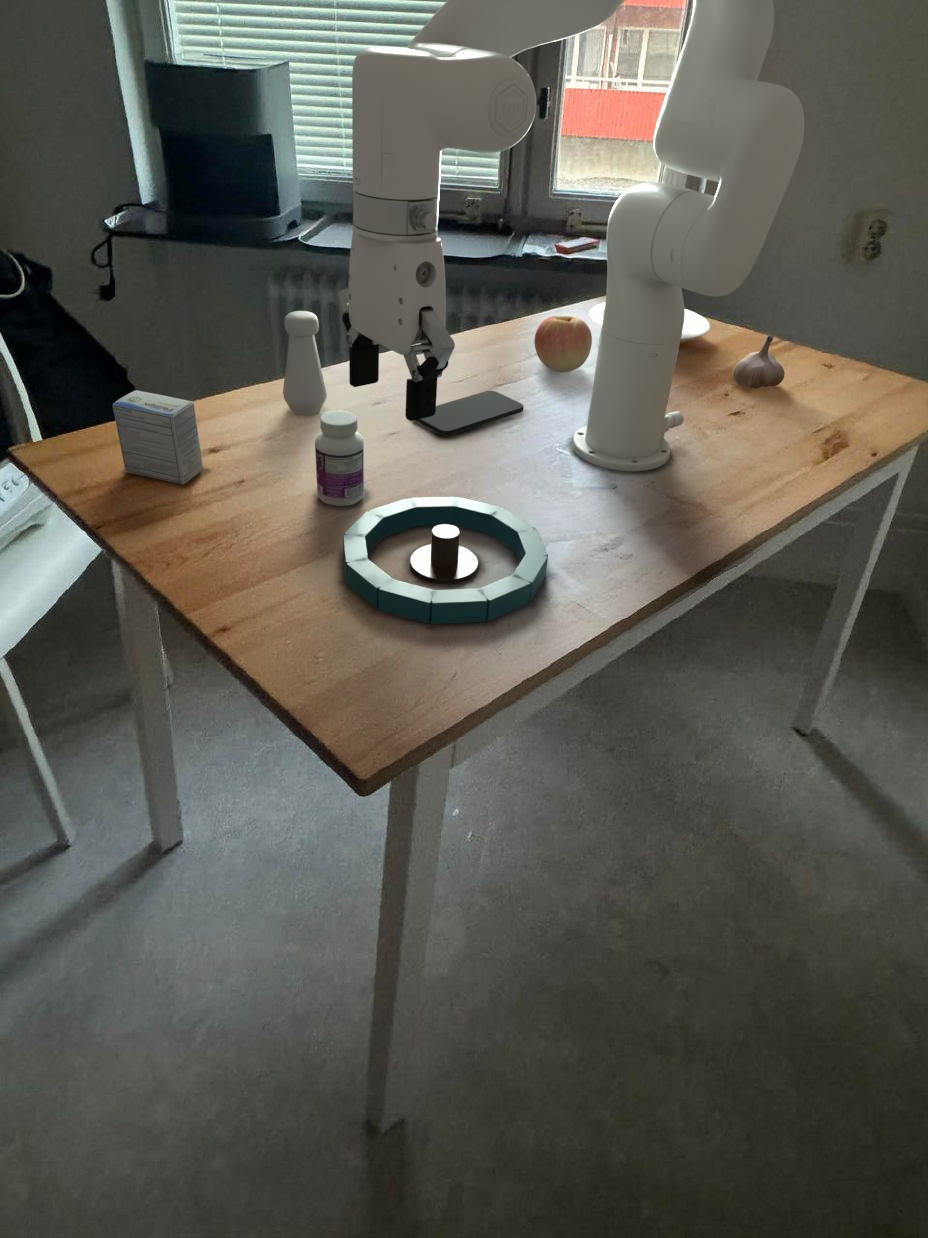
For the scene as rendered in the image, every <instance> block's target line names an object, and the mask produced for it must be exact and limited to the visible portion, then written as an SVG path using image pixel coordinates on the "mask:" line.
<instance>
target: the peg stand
mask: <svg viewBox="0 0 928 1238" xmlns="http://www.w3.org/2000/svg"><path fill="white" fill-rule="evenodd" d="M460 535H461V531H460V529H459V528H458V526H455V525H448V524H442V525H437V526H433V528H432V529H431V541H430V542H431V543H430V544H425V545H423V546H420V547H419V548H417V549H415V550H414V551H413V552H412V553H411V555H410V558H409V567H410V569H411V571H412V572H413V574H415V575H416V576H417V577H419V578H421V579H422V580H424V581H427V582H429V583H435V584H442V585H450V584H457V583H458V584H459V583H462V582H465V581H467V580H469V579H471V578H473V577H474V576H475V575H476V574H477V572H478V569H479V559H478V557H477V555H476V554H475V553H474V552H473V551H471V550H470V549H469V548H467V547H464V546H461V545H460V538H461V537H460Z"/></svg>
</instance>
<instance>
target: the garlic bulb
mask: <svg viewBox="0 0 928 1238" xmlns="http://www.w3.org/2000/svg"><path fill="white" fill-rule="evenodd" d="M773 340H774V336H773V334H768V335H767V337H766V339H765V341H764V343H763V345H762V347H761V348H760V351H753V352H750V353H748V354H747V355H746V356H745V357H744V358H742V359H741V360H739V361H737V362H736V364H735V365H734V366H733V371H732V378H733V381H734V382H736V384H737V385H739V386H742V387H745V388H747V389H750V390H752V389H754V390H757V389H760V388H770V387H777V386H778V385H780V384H781V383H782V382H783V380H784V378H785V369H784V367H783V366H782V365H781V363H779V362H778V360H777V359H776V357H775V356H774V355H773V354H771V353H769V349H770V345H771V343H772V342H773Z"/></svg>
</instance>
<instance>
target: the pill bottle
mask: <svg viewBox="0 0 928 1238" xmlns="http://www.w3.org/2000/svg"><path fill="white" fill-rule="evenodd" d="M319 425H320V426H319V428H320V430H321V431H320V432H318V434H316V437H315V439H314V452H315V473H316V475H315V476H316V491H317V496H318V498H319V499H320V500H321V502H323V503H324V504H326V505H329V506H335V507H348V506H349V507H350V506H352V505H355V504H357V503H358V502H360V501H361V500H362V499H363V498H364V496H365V442H364V438H363V436H362V434H361V433H360V432H359V431H358V428H359V427H358V426H359V425H358V416H357V415H356V413H353V412H352V411H347V410H342V409H341V410H340V409H337V410H329V411H327V412H324V413H322V414H321V415H320V417H319Z"/></svg>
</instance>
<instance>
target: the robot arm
mask: <svg viewBox="0 0 928 1238" xmlns="http://www.w3.org/2000/svg"><path fill="white" fill-rule="evenodd" d="M625 1H626V0H446V2H445V3H443V4H442V6H440V8H439V9H438V10H437V11H436V12H435V13H434V14H433V16H431V18H430V19H429V20H428V21H426V23H425V25H424V26H423V27H422V28H421V29H420V30H419V31H418V32H417V33H416V34H415V36H414V37H413V38H412V40H411V41H410V42H409V43H408V45H407V46H406V48H401V47H400V48H399V47H388V46H387V47H385V46H376V47H374V46H373V47H366V48H364V49H362V50H360V51H358V53H357V55H356V56H355V57H354V61H353V63H352V77H351V78H352V80H351V89H352V90H351V92H352V93H351V95H352V97H351V100H352V103H351V105H352V107H351V109H352V110H351V111H352V114H351V116H352V117H351V118H352V126H351V127H352V138H351V139H352V235H351V242H350V253H349V265H348V287H346V288H344V289H342V290H340V291H339V292H338V300H339V304H340V308H341V311H342V317H341V318H342V323H343V325H344V327H345V330H346V332H347V333H346V335H345V342H346V344H347V346H349V349H348V353H349V354H348V358H349V359H348V361H349V365H348V368H349V369H348V371H349V372H348V373H349V375H348V376H349V385H350V386H351V387H353V388H358V387H362V386H368V385H373V384H376V383H378V382H379V375H380V373H379V371H380V370H379V369H380V366H379V365H380V345H381V346H382V347H385V348H387V349H388V350H391V351H392V352H394V353H396V354H398V355H401V356H403V358H404V361H405V363H406V367H407V369H408V371H409V374H410V377H411V378H407V379H406V384H405V385H406V388H405V419H406V420H408V421H410V422H413V421H415V420H418V419H422V418H427V417H431V416H433V415H434V414H435V412H436V406H437V394H438V378H441V377H442V375H443V372H444V371H445V370H446V369H447V368H448V366H449V360H450V358H451V356H452V354H453V352H454V350H455V347H456V344H455V341H454V339H453V338H452V336H451V335H450V333H449V331H448V330H447V329H446V322H447V321H446V319H447V299H446V298H447V294H446V293H447V290H446V287H447V286H446V269H445V268H446V267H445V259H444V258H445V257H444V251H443V243H442V239H441V238H440V237H438V228H439V227H438V225H439V205H440V203H439V202H440V189H441V188H440V186H441V166H442V152H443V150H445V149H454V150H461V151H466V152H467V151H468V152H473V153H480V154H496V153H500V152H503V151H506V150H509V149H511V148H513V146H516V145H517V144H518V143H519V142H520V141H521V140H522V139H523V138H525V136H526V135H527V133H528V132H529V130H530V128H531V127H532V124H533V122H534V119H535V116H536V111H537V94H536V89H535V85H534V82H533V80H532V77H531V76H530V74H529V73H528V71H527V70H526V68H524V66H523V65H521V64H520V63H519V62H518V61H517V60H515V59H514V58H513V57H514V56H516V55H518V54H520V53H522V52H524V51H527V50H529V49H532V48H536V47H538V46H541V45H545V44H549V43H553V42H558V41H561V40H565V39H569V38H571V37H575V36H577V35H581V34H583V33H586V32H587V31H588V32H589V31H590V30H593V29H595V28H597V27H599V26H601V25H603V24H604V23H606V22H607V21H608V20H610V18H612V16H613V15H614V14H615V13H616V12H617V10H618V9H619V8H620V7H621V6H622V5H623V3H624V2H625ZM774 7H775V6H774V1H773V0H693V2H692V11H691V16H690V21H689V25H688V28H687V32H686V35H685V39H684V42H683V45H682V48H681V51H680V53H679V57H678V60H677V63H676V66H675V68H674V72H673V74H672V77H671V80H670V83H669V86H668V88H667V91H666V95H665V97H664V101H663V103H662V106H661V110H660V111H659V116H658V118H657V122H656V124H655V125H656V126H655V130H654V133H653V150H654V153H655V157H656V158H657V160H658V161H659V162H660V163H661V164H662V165H663V166H664V167H665V166H667V167H668V168H670V169H672V170H675V171H678V172H681V173H685V174H688V175H689V176H692V177H696V178H701V179H705V180H708V181H713V182H716V183H718V186H717V190H716V193H715V195H713V194H709V193H704V192H700V191H698V190H695V189H691V188H686V187H685V188H683V187H679V186H675V185H671V184H666V183H662V182H659V181H651V182H650V181H648V182H643V183H638V184H636V185H633V186H632V187H631V186H630V188H628V189H627V190H625V191H624V192H623V193H622V194H621V195H620V196H619V198H618V199H617V200H616V201H615V203H614V205H613V206H612V209H611V211H610V214H609V217H608V220H607V226H606V236H605V237H606V239H605V241H606V244H605V245H606V265H607V266H606V267H607V271H606V273H607V274H606V275H607V277H606V292H605V301H604V303H605V308H604V316H603V322H602V326H601V328H600V329H601V330H600V335H599V336H600V337H599V340H598V341H599V343H598V349H597V355H596V361H595V367H594V368H595V369H594V375H593V383H592V390H591V395H590V403H589V409H588V414H587V415H588V416H587V421H586V422H587V423H586V425H585V426H583V427H581V428H579V429H578V430H576V431H575V432H574V433H573V437H572V444H571V445H572V449H573V451H574V452H575V453H576V455H578V456H579V457H580V458H582V459H583V460H585V461H587V462H588V463H591V464H593V465H595V466H598V467H602V468H605V469H608V470H609V469H610V470H614V471H622V472H643V471H650V470H654V469H657V468H659V467H662V466H664V464H666V463H667V462H668V460H669V459H670V455H671V446H670V444H669V442H668V441H667V440H666V439H665V435H666V433H667V432H668V431H669V430H670V429H673V428H675V427H678V426H681V425H683V423H684V415H683V413H682V412H681V411H679V410H677V411H673V412H669V413H667V408H668V403H669V399H670V393H671V388H672V383H673V379H674V374H675V369H676V364H677V359H678V356H679V355H678V353H679V349H680V344H681V343H680V340H681V336H682V331H683V325H684V315H685V311H684V309H685V301H684V300H685V299H684V295H683V290H682V289H684V290H687V291H690V292H693V293H697V294H699V295H703V296H707V297H711V298H712V297H713V298H714V297H716V298H717V297H725V296H727V295H729V294H732V293H733V292H734V291H736V290H737V289H738V288H739V287H740V286H741V285H742V284H743V283H744V282H745V281H746V279H747V278H748V276H749V275H750V273H751V271H752V269H753V267H754V266H755V264H756V263H757V260H758V258H759V256H760V253H761V251H762V249H763V246H764V244H765V241H766V239H767V236H768V234H769V232H770V230H771V227H772V224H773V222H774V220H775V217H776V214H777V212H778V209H780V205H781V204H782V203H781V202H782V200H783V198H784V195H785V193H786V190H787V188H788V186H789V184H790V181H791V179H792V176H793V175H794V172H795V169H796V166H797V163H798V160H799V157H800V155H801V151H802V147H803V142H804V137H805V113H804V108H803V105H802V102H801V100H800V98H799V97H798V95H797V94H796V93H794V91H793V90H791V89H790V88H788V87H786V86H783V85H780V84H778V83H773V82H766V81H761V80H758V79H759V77H760V73H761V70H762V68H763V64H764V61H765V58H766V55H767V52H768V51H769V47H770V44H771V41H772V38H773V34H774V27H775V10H774V9H775V8H774ZM688 175H687V176H688ZM417 342H418V343H419V344H413V345H412V343H417ZM422 354H423V356H424V359H425V360H424V361H423V362H422V363H421V364H420V362H419V358H418V356H417V355H422ZM666 413H667V414H666Z"/></svg>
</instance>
